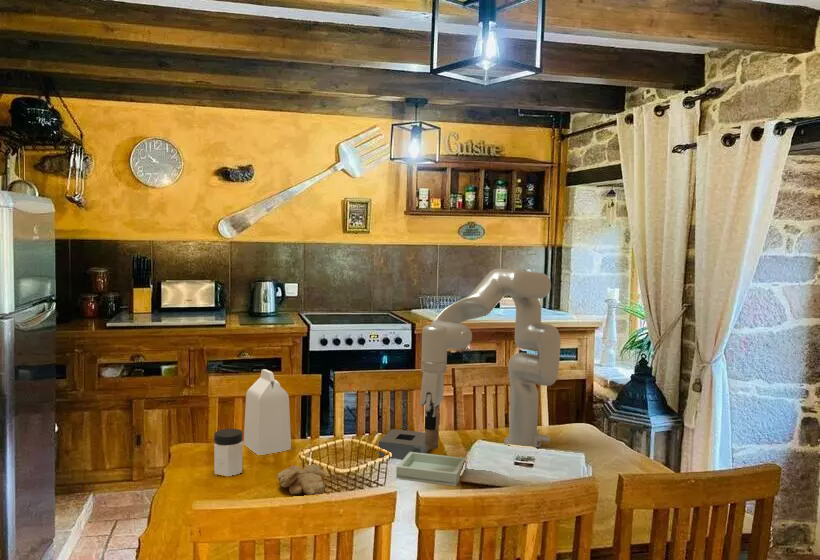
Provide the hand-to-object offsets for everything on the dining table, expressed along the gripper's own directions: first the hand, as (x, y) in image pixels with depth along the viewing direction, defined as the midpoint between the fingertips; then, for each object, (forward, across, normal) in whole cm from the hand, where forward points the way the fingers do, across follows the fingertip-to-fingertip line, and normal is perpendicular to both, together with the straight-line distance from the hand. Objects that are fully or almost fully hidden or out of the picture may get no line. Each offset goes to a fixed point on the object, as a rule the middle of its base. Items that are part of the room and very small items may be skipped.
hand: (432, 426), depth 196 cm
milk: (+15, -5, -57) cm, 59 cm away
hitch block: (+14, -16, -13) cm, 25 cm away
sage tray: (+14, 0, 0) cm, 14 cm away
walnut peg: (+6, 0, 0) cm, 6 cm away
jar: (+15, +18, -58) cm, 62 cm away
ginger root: (+15, +23, -32) cm, 42 cm away
